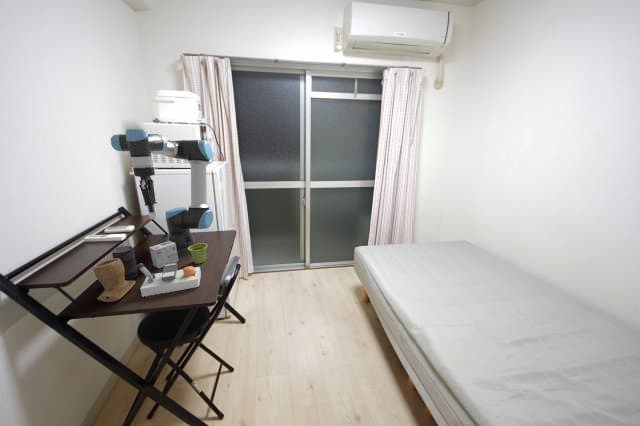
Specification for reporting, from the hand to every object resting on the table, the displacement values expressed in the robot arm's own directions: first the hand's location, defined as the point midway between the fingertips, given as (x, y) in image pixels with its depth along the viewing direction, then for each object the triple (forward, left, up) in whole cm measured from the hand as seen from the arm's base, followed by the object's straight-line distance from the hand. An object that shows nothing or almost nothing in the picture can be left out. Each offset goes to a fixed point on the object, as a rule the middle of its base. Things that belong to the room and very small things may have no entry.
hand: (153, 218), depth 117 cm
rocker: (+11, +5, -22) cm, 25 cm away
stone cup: (+10, -17, -30) cm, 36 cm away
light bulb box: (-14, -2, -30) cm, 33 cm away
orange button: (+11, +12, -28) cm, 33 cm away
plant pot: (-10, +15, -30) cm, 35 cm away
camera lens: (-4, -16, -30) cm, 34 cm away
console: (+11, +5, -29) cm, 32 cm away
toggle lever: (+11, -3, -24) cm, 27 cm away
